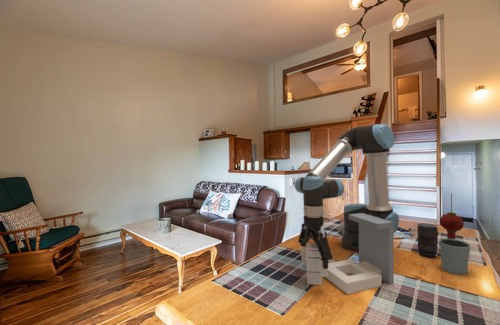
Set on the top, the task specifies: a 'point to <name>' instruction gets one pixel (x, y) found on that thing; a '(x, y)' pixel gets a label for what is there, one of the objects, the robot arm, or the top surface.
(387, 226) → the socket block
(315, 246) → the syrup box
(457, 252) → the grey green cup
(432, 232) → the camera lens
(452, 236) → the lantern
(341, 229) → the chubby cartoon animal
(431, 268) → the top surface
